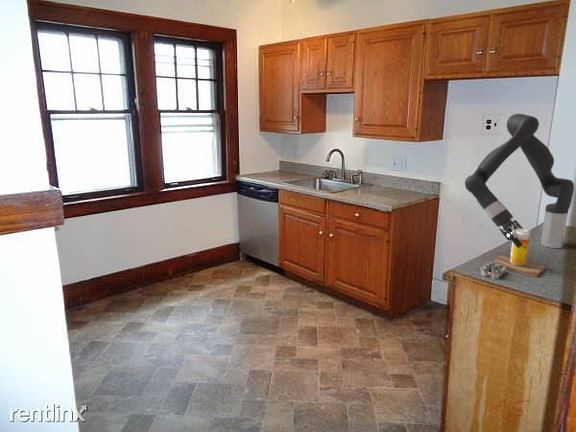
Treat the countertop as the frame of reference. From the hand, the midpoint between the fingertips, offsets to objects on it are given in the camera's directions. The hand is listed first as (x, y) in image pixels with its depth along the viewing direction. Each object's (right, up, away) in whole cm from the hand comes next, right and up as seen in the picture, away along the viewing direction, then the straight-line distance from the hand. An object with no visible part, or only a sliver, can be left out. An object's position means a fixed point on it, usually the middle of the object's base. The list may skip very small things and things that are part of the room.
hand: (524, 244), depth 172 cm
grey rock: (-15, -12, -2) cm, 19 cm away
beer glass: (-1, -9, +3) cm, 9 cm away
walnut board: (-1, -10, +4) cm, 11 cm away
